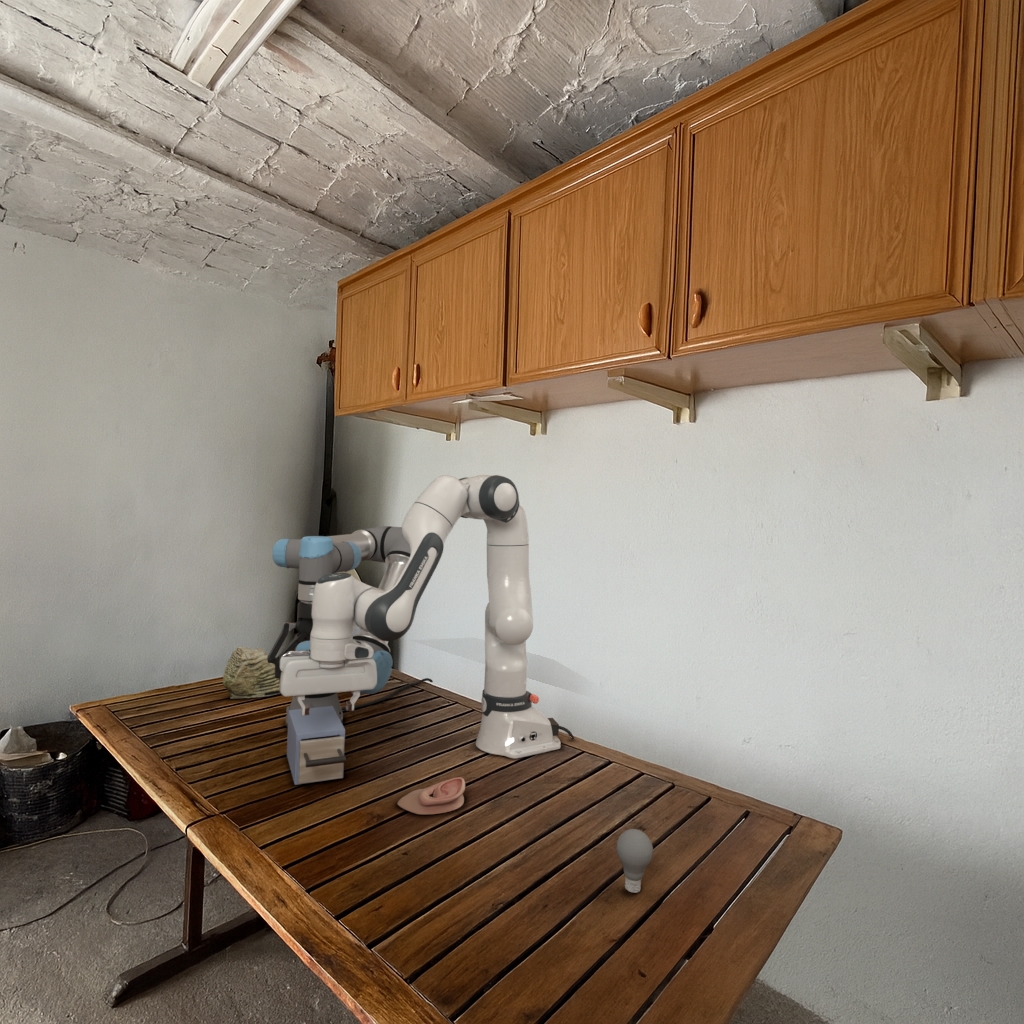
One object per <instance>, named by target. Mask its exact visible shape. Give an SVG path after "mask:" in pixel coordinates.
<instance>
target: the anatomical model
mask: <svg viewBox="0 0 1024 1024" xmlns="http://www.w3.org/2000/svg"><path fill="white" fill-rule="evenodd" d="M465 789H466V781H465V779H464V778H463V777H461V776H459V777H453V778H449V779H446V780H442V781H439V782H437V783H435V784H432V785H431V786H430V785H429V786H428V787H425V788H419V789H416V790H412V791H411V792H409V793H406V794H405V795H403V796H402V797H401V798H400V799H399V800H398V801H397V806H398V807H400V808H402V809H403V810H405V811H408V812H410V813H413V814H414V815H415V814H416V815H422V816H423V815H424V816H425V815H436V814H445V813H448V812H449V813H450V812H453V811H455V810H457V809H460V808H461V807H462V806H464V802H465V797H464V792H465Z"/></svg>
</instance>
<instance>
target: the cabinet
mask: <svg viewBox="0 0 1024 1024" xmlns="http://www.w3.org/2000/svg"><path fill="white" fill-rule="evenodd" d="M287 713H288V727H287V735H286V737H287V738H286V758H287V761H288V765H289V768H290V769H289V770H290V773H291V777H292V781H293V784H294V785H295V786H297V785H300V784H299V783H298V774H299V748H300V741H301V739H308V738H317V737H326V736H334V735H337V737H339V736H343V737H344V748H345V747H346V746H345V743H346V742H345V741H346V729H345V726H344V725H343V722H342V723H341V721H340V719H339V717H338V715H337V713H336V711H335V710H334V708H333V706H327V707H317V708H310V711H309V715H305V716H302V715H301V709H296V710H288V712H287ZM343 756H345V750H344V751H343ZM344 766H345V762H344V763H343V773H344V772H345V771H344V770H345V767H344ZM340 779H344V775H343V776H342V778H337V779H336V780H340ZM331 780H334V779H330V780H329V781H331ZM326 781H327V780H323V781H322V782H326ZM317 782H318V783H319V782H320V781H316V782H315V783H317ZM305 784H306V783H302V784H301V785H305ZM308 784H313V782H309V783H308Z"/></svg>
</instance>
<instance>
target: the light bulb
mask: <svg viewBox="0 0 1024 1024" xmlns="http://www.w3.org/2000/svg"><path fill="white" fill-rule="evenodd" d="M615 849H616V854H617V857H618V859H619V861H620V863H621V865H622V867H623V873H624V874H623V875H624V876H625V878H624V888H625V890H627V891H628V892H630V893H634V894H635V893H639V892H640V891H641V889H642V887H641V886H642V879H643V877H644V875H645V871H646V868H647V867H648V866H649V864H650V863H651V861H652V859H653V855H654V847H653V843H652V841H651V838H649V836H648V835H647V834H646V833H645V832H643V831H642V830H641V829H636V828H629V829H627V830H625V831H623V832H622V833H621V834H620V835H619V837H618V839H617V841H616V847H615Z"/></svg>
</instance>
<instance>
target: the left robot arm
mask: <svg viewBox="0 0 1024 1024" xmlns="http://www.w3.org/2000/svg"><path fill="white" fill-rule="evenodd" d="M410 555H411V549H410V546H409V545H408V544H407V542H406V541H405V539H404V537H403V534H402V526H390V525H385V526H384V525H383V526H376V527H370V528H364V529H358V530H355V531H353V532H352V533H347V534H337V535H326V536H324V535H306V536H303V537H302V538H297V539H295V538H280V539H278V540H277V541H276V542H275V544H274V545H273V547H272V555H271V556H272V560H273V562H274V564H275V565H276V566H278V567H280V568H286V569H298V571H299V572H298V586H297V587H298V588H297V599H298V600H299V601H298V603H297V616H296V617H297V619H296V621H295V622H289V621H288V620H285V621H283V623H282V628H281V632H280V633H279V634H278V637H277V638H276V640H275V642H274V644H273V646H272V648H271V650H270V651H269V653H268V654H267V655H268V657H267V661H268V663H273V664H275V677H276V679H277V678H280V677H281V671H280V668H279V663H280V658H281V657H282V655H284V654H286V653H287V652H288V651H301V650H309V649H310V634H311V630H312V627H313V620H312V615H311V614H312V601H313V594H314V589H315V585H316V583H317V581H318V580H319V579H320V578H321V577H323V576H325V575H328V574H332V573H348V572H349V571H352V570H355V569H356V568H357V567H359V566H360V564H361V562H364V561H369V562H370V561H371V562H378V563H383V564H384V563H385V565H386V569H385V571H384V574H383V577H382V579H381V581H380V583H379V585H378V588H379V589H382V590H384V591H388V590H390V589H391V588H392V587H393V586H394V585H395V584H396V582H397V580H398V578H399V577H400V575H401V573H402V571H403V569H404V567H405V566H406V564H407V562H408V560H409V558H410ZM293 629H295V630H296V631H297V633H296V634H295V636H294V637H293V638H292V639H291V640H290V642H289V643H288V644H287V645H286V646H285V648H284V649H283V650H281V648H282V646H283V645H284V642H285V640H286V638H287V637H288V634H289V633H291V632H292V631H293ZM353 639H355V640H358V641H362V642H365V643H367V644H369V645H370V646H371V647H372V648H373V650H374V654H373V657H372V659H373V660H374V661H375V663H376V667H377V685H376V686H375V688H374V689H371V690H360V695H363V694H366V695H373V694H374V695H375V694H376V693H379V692H380V691H382V690H383V689H384V687H385V686H386V685H387V684H388V682H389V680H390V677H391V675H392V671H393V668H392V667H393V665H394V663H393V662H394V661H393V657H392V655H391V648H390V647H389V642H390V641H383V640H380V639H379V638H377V637H375V636H374V635H372V634H371V633H369V632H367V631H364V630H362V629H359V632H358V633H356V634H353ZM303 640H304V641H303ZM280 650H281V652H280V653H279V651H280ZM278 654H279V655H278ZM277 655H278V656H277ZM286 656H287V655H286ZM296 656H297V655H296ZM424 682H429V683H433V682H434V680H432V678H429V677H425V678H422V679H420V680H417V681H414V682H411V683H408V684H406V685H403V686H401V687H399V688H396V690H394V691H392V692H390V693H388V694H386V695H385V696H383V697H381V698H378V699H375V700H372V701H368V702H365V703H360V704H354V710H355V709H360V708H364V707H368V706H371V705H375V704H378V703H380V702H383V701H385V700H387V699H389V698H391V697H393V696H394V695H396V694H397V693H399V692H400V691H403V690H405V689H407V688H410V687H413V686H416V685H419V684H422V683H424ZM279 684H280V681H279ZM279 691H280V690H279ZM349 692H351V693H352V691H349ZM302 702H303V703H304V705H309V707H310V708H317V707H327V706H333V708H334V710H335V711H336V713H337V715H338V717H339V719H340V721H341V723H342V724H343V722H344V714H343V711H347V710H346V706H341V702H340V699H339V695H338V692H336V693H324V694H313V695H305V700H302ZM285 709H286V712H285V713H286V715H285V726H286V728H288V710H296V709H301V706H300V704H299V702H298V700H297V698H296V696H292V699H291V702H290V704H289V706H286V708H285Z"/></svg>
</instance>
